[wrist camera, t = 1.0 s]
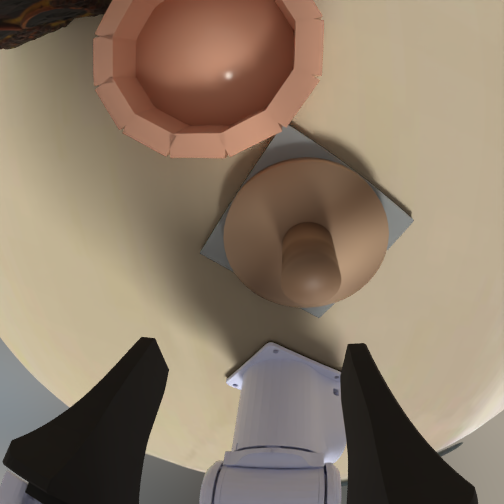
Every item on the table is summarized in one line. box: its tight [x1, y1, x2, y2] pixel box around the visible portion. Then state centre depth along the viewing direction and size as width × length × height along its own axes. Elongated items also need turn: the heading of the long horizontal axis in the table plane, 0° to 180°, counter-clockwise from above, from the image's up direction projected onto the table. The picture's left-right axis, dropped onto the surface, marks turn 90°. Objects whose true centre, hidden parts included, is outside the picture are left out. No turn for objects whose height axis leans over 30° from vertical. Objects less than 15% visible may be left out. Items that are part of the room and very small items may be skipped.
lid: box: [223, 157, 389, 308], centre depth 16 cm, size 10×10×5 cm
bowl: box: [93, 0, 324, 158], centre depth 12 cm, size 11×11×3 cm
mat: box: [200, 125, 414, 318], centre depth 19 cm, size 10×10×1 cm
